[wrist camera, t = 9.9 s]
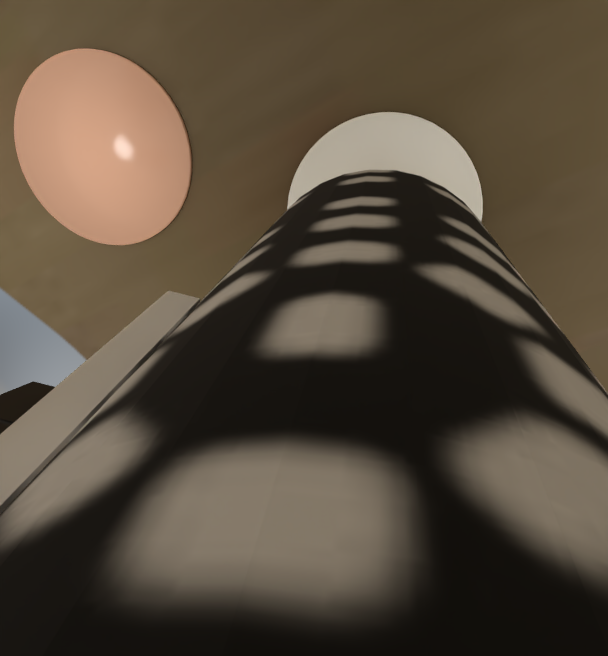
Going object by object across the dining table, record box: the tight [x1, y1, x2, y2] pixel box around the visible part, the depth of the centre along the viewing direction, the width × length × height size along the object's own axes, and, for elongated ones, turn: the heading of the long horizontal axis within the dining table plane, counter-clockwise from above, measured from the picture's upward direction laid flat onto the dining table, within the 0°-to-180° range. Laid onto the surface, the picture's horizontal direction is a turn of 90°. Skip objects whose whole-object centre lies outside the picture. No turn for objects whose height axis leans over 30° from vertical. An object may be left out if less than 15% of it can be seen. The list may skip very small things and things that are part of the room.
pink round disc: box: [14, 49, 192, 245], centre depth 30 cm, size 11×11×1 cm
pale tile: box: [287, 112, 483, 221], centre depth 29 cm, size 11×11×1 cm
